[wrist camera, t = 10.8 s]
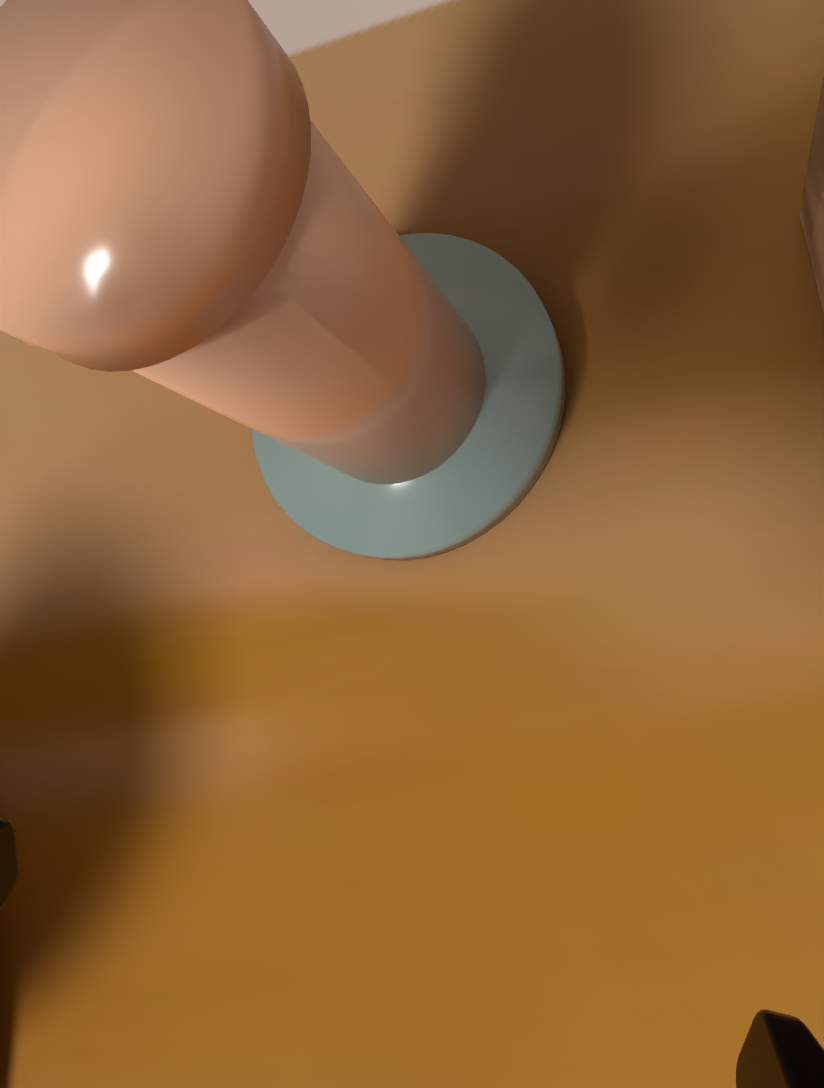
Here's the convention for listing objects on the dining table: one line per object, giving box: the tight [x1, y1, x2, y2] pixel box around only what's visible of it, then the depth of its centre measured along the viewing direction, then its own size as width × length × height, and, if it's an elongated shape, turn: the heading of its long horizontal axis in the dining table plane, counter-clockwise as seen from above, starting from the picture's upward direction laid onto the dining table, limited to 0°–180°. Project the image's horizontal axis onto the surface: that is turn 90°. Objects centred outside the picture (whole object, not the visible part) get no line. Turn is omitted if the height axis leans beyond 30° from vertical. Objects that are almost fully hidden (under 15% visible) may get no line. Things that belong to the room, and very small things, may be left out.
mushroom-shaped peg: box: [0, 0, 485, 484], centre depth 15 cm, size 6×6×11 cm
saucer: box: [251, 233, 566, 560], centre depth 21 cm, size 9×9×1 cm
